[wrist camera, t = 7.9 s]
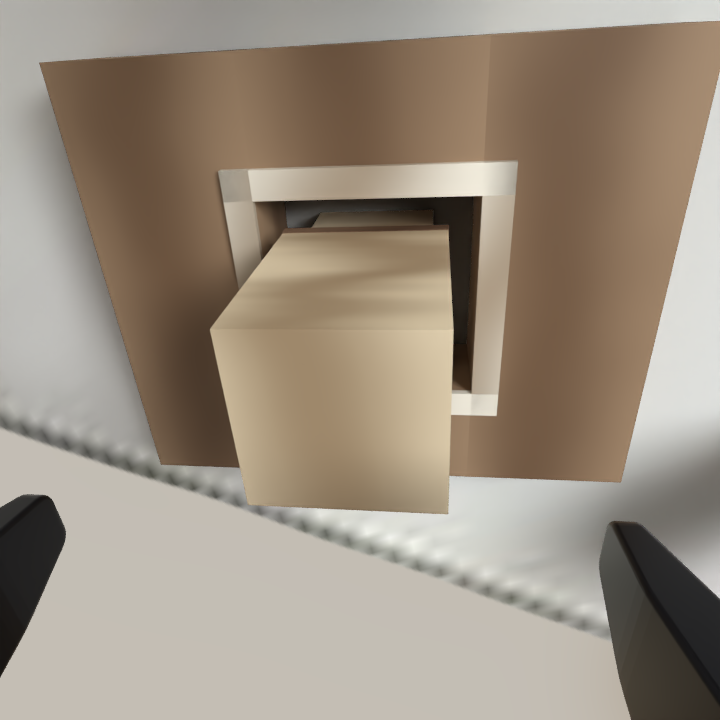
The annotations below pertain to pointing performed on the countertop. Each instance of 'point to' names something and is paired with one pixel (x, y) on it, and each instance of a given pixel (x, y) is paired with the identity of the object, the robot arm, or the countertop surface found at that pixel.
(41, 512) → the robot arm
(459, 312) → the countertop surface
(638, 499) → the countertop surface
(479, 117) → the board
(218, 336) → the peg
